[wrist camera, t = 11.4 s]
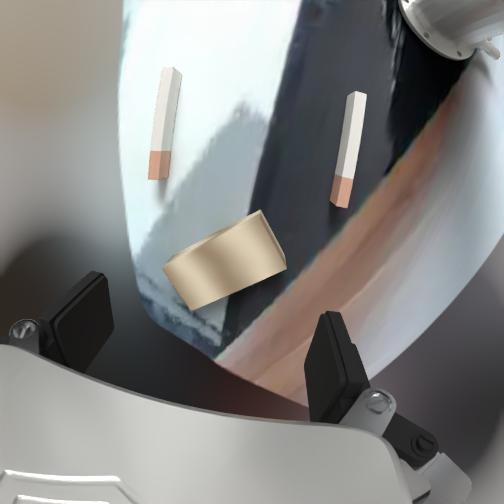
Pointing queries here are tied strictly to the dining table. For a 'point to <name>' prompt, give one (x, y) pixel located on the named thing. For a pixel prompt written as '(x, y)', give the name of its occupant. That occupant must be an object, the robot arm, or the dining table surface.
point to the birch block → (226, 262)
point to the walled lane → (166, 126)
